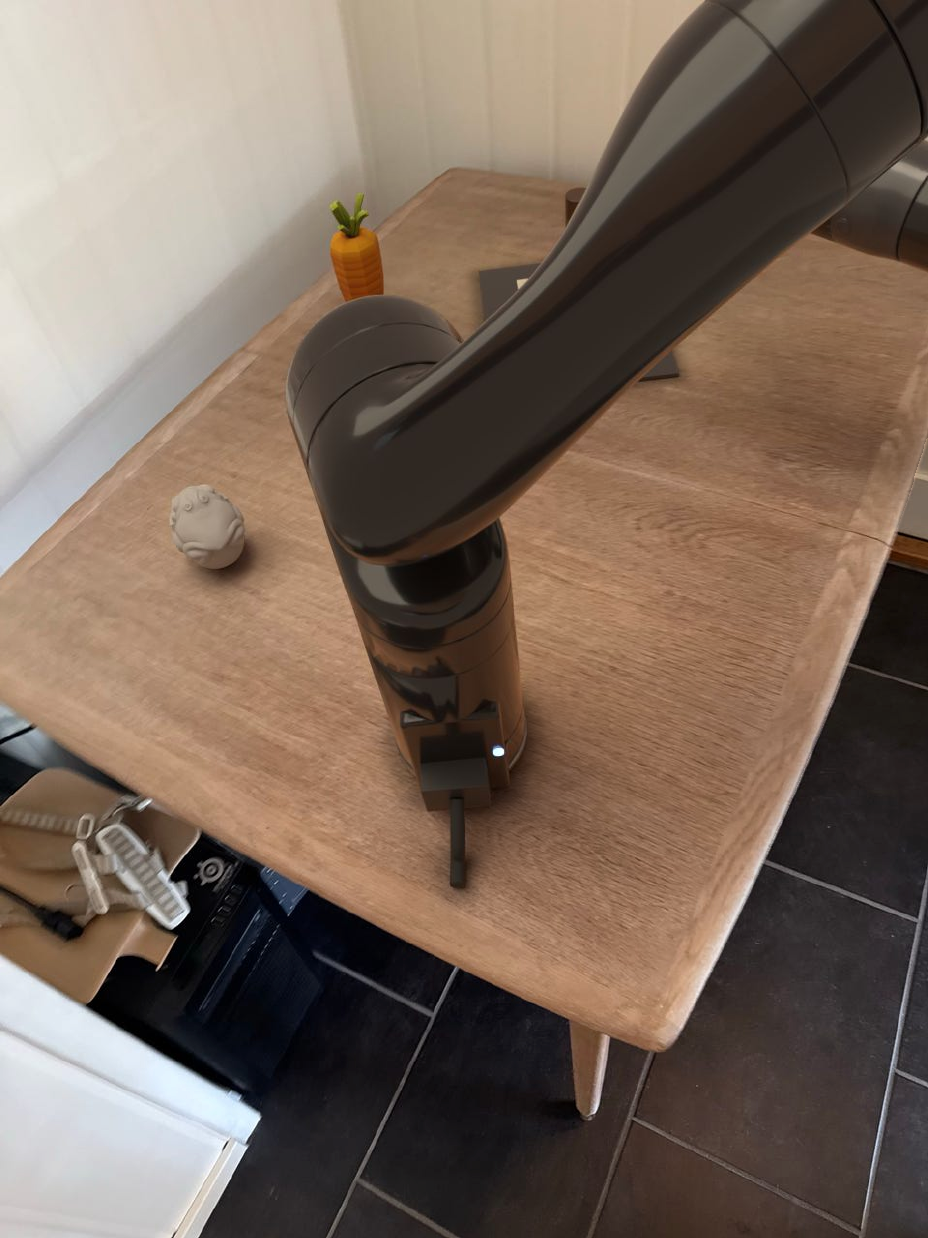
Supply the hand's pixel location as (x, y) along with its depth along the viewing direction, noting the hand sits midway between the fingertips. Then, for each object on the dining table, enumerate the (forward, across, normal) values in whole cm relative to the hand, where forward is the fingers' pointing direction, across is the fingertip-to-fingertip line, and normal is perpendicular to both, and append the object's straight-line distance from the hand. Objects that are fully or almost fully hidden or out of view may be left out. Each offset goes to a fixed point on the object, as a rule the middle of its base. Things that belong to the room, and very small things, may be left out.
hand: (682, 128), depth 70 cm
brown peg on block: (+11, 0, +20) cm, 23 cm away
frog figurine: (+11, +45, +22) cm, 52 cm away
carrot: (+26, +16, +22) cm, 38 cm away
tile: (+11, +1, +22) cm, 24 cm away
